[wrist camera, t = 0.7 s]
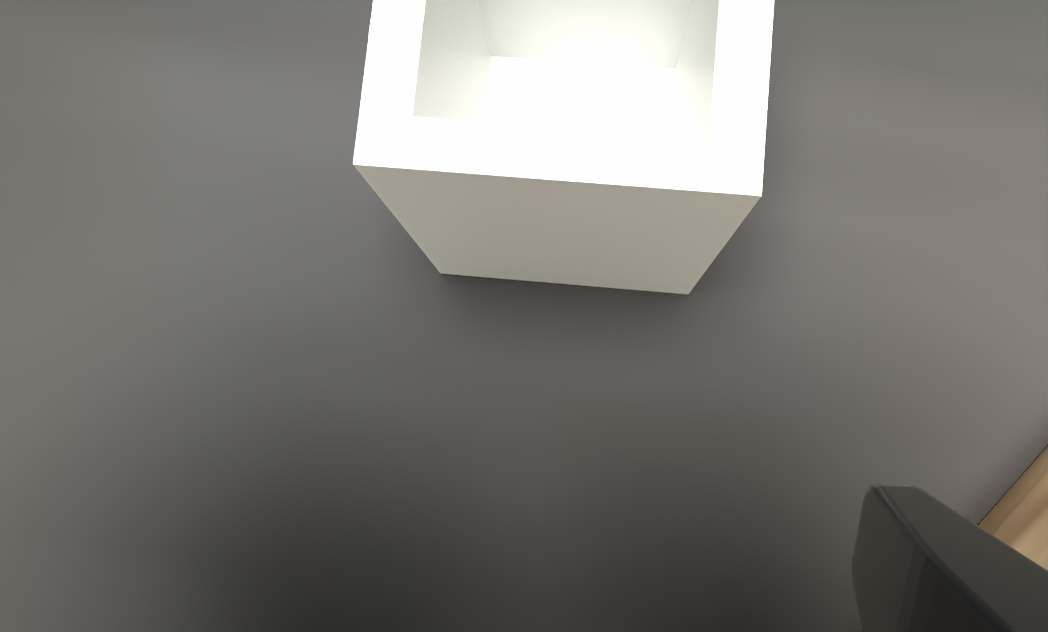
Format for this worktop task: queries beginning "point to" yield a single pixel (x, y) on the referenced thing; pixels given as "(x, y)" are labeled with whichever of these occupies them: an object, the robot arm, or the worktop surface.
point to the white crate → (568, 134)
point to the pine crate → (1024, 513)
